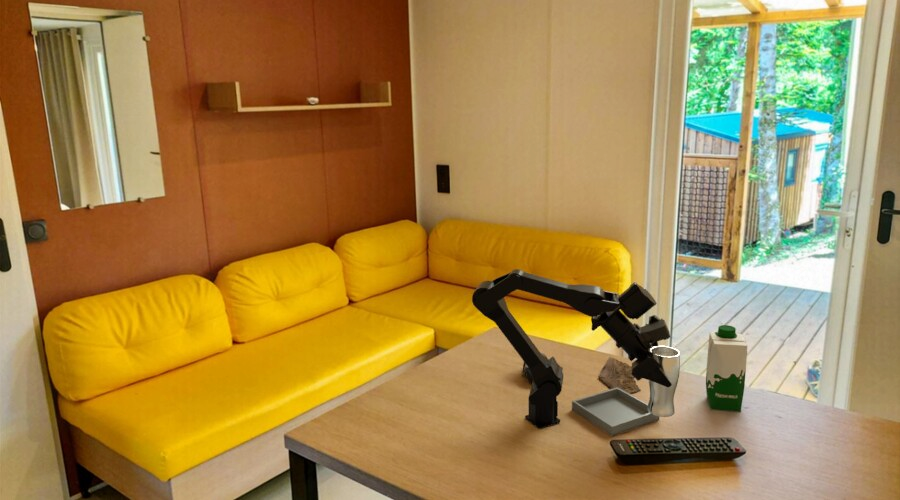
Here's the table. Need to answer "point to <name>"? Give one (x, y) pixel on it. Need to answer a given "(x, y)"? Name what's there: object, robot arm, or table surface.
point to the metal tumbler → (659, 394)
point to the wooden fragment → (618, 376)
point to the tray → (614, 411)
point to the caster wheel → (527, 371)
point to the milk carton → (726, 369)
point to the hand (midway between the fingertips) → (669, 379)
